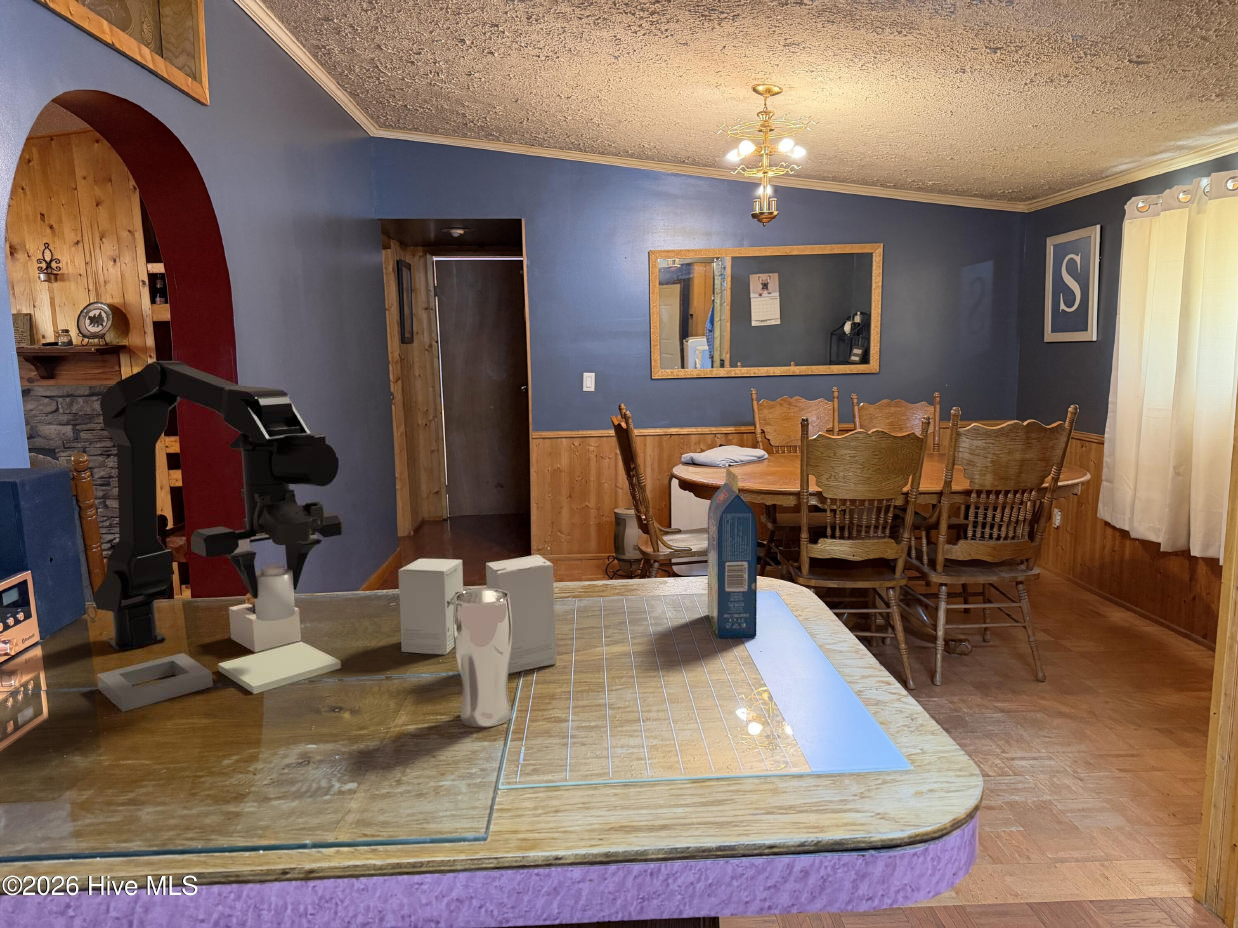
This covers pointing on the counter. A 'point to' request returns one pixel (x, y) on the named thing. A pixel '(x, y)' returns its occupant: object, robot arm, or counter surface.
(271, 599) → the cylinder
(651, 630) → the counter surface
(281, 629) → the plunger housing
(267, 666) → the dock pad
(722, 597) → the blue food package
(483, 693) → the beer glass
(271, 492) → the robot arm
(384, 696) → the counter surface
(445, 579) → the supplement box
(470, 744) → the counter surface
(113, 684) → the socket
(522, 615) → the skincare box
